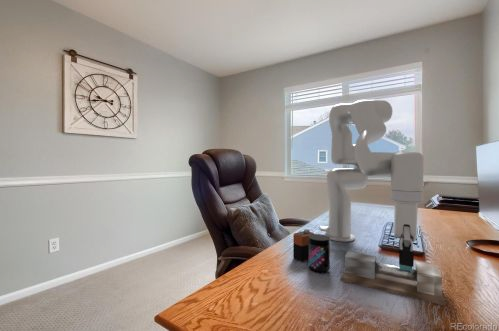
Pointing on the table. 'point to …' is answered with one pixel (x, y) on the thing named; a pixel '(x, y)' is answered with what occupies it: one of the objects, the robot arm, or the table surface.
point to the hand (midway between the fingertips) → (405, 259)
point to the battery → (301, 245)
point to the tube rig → (394, 278)
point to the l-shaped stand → (396, 271)
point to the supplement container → (319, 253)
